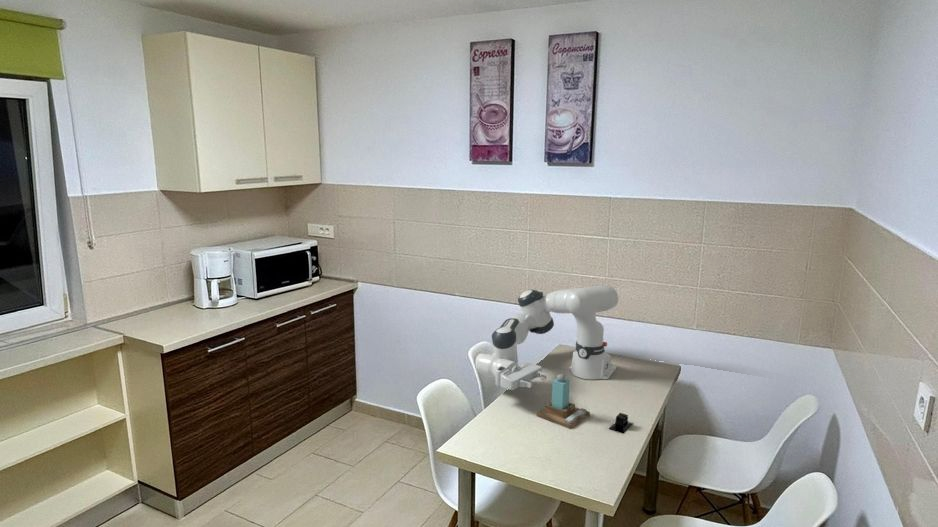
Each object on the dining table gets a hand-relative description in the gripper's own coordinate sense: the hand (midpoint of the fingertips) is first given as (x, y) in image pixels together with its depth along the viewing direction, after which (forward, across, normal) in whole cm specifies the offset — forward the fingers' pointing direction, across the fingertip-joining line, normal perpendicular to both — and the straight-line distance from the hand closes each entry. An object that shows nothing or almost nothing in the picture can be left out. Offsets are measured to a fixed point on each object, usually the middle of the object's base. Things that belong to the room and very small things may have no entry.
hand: (538, 381), depth 204 cm
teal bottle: (+10, 0, -9) cm, 13 cm away
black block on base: (+31, -7, -11) cm, 33 cm away
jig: (+11, 0, -10) cm, 15 cm away
